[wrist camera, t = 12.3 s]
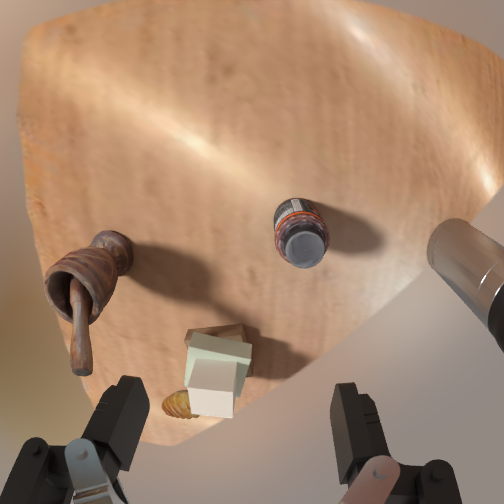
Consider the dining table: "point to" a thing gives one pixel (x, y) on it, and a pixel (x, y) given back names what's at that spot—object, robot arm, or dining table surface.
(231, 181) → the dining table surface
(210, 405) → the cream block
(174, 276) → the dining table surface
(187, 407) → the pastry
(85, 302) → the mortar and pestle
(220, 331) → the lower block
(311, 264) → the supplement bottle
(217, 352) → the upper block
